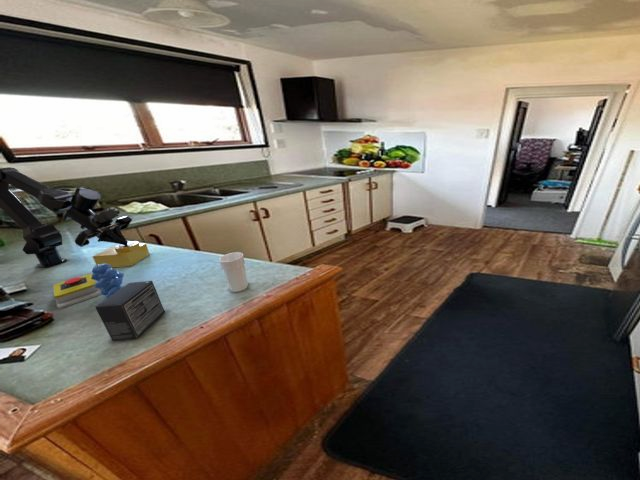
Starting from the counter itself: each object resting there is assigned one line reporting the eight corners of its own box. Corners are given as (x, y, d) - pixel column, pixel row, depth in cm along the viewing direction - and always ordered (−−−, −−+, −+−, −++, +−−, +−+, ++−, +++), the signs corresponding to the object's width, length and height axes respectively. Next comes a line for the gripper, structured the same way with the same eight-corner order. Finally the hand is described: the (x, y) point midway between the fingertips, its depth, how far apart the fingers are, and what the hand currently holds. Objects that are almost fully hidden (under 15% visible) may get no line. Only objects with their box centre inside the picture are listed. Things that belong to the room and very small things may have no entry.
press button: (118, 251, 105) (116, 246, 104) (126, 246, 108) (125, 242, 108) (129, 250, 105) (128, 246, 104) (137, 246, 109) (135, 242, 108)
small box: (142, 313, 76) (128, 281, 73) (166, 311, 77) (154, 279, 73) (109, 341, 66) (92, 306, 63) (137, 339, 67) (122, 303, 63)
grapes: (142, 292, 86) (129, 259, 82) (117, 305, 80) (101, 269, 76) (119, 286, 90) (105, 254, 86) (93, 298, 84) (77, 264, 80)
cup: (254, 283, 89) (248, 253, 85) (238, 294, 83) (230, 263, 79) (239, 280, 91) (232, 251, 87) (222, 291, 85) (213, 260, 82)
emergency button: (91, 268, 94) (96, 282, 85) (96, 279, 95) (101, 294, 86) (50, 279, 87) (51, 296, 78) (56, 291, 89) (57, 309, 80)
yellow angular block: (97, 268, 103) (90, 252, 101) (119, 256, 112) (113, 241, 110) (132, 266, 104) (125, 249, 102) (151, 254, 113) (145, 239, 111)
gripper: (68, 210, 91) (113, 239, 95) (118, 196, 109) (155, 221, 113) (56, 233, 94) (100, 260, 98) (107, 216, 112) (143, 239, 115)
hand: (126, 243), depth 106 cm, fingers closed, pressing on press button
